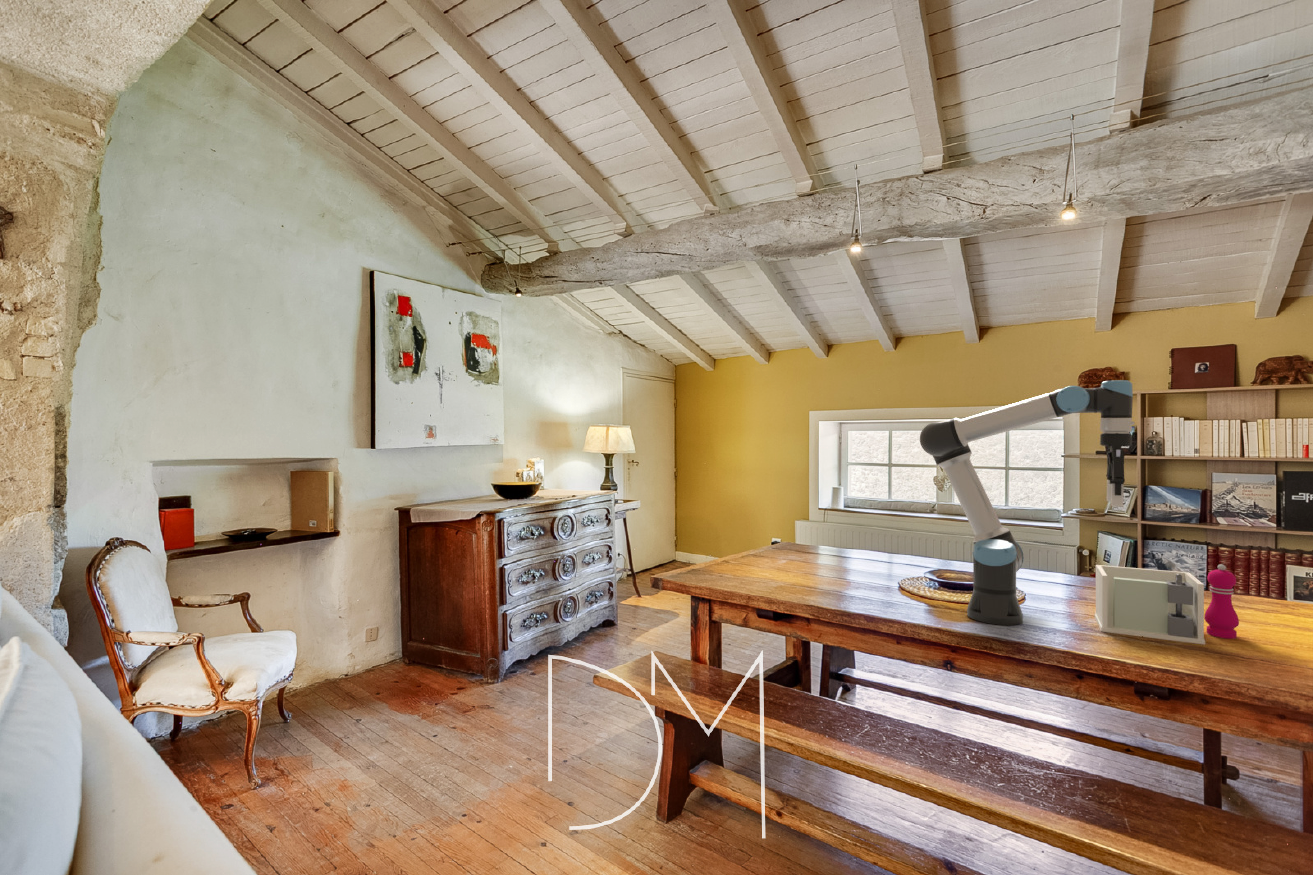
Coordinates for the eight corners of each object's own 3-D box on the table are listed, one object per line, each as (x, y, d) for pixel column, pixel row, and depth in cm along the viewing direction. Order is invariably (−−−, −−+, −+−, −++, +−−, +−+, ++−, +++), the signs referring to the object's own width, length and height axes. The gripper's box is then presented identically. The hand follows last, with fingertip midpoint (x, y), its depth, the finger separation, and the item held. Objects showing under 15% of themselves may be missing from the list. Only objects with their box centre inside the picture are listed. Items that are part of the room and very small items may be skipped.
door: (1115, 628, 178) (1115, 579, 178) (1112, 623, 182) (1112, 576, 182) (1193, 638, 169) (1193, 587, 169) (1188, 632, 174) (1188, 582, 174)
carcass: (1101, 631, 179) (1101, 575, 179) (1094, 616, 193) (1094, 564, 193) (1205, 644, 168) (1205, 584, 168) (1190, 627, 182) (1190, 572, 182)
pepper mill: (1245, 640, 171) (1246, 567, 171) (1215, 638, 173) (1215, 566, 172) (1227, 631, 178) (1227, 562, 178) (1198, 630, 180) (1198, 561, 179)
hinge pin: (1176, 634, 173) (1176, 574, 172) (1175, 632, 174) (1175, 573, 174) (1182, 635, 172) (1182, 574, 172) (1181, 633, 173) (1181, 573, 173)
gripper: (1137, 433, 172) (1136, 509, 172) (1126, 432, 193) (1125, 500, 194) (1104, 433, 176) (1103, 507, 176) (1096, 432, 197) (1095, 499, 198)
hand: (1114, 504), depth 185 cm, fingers open, 13 cm apart
